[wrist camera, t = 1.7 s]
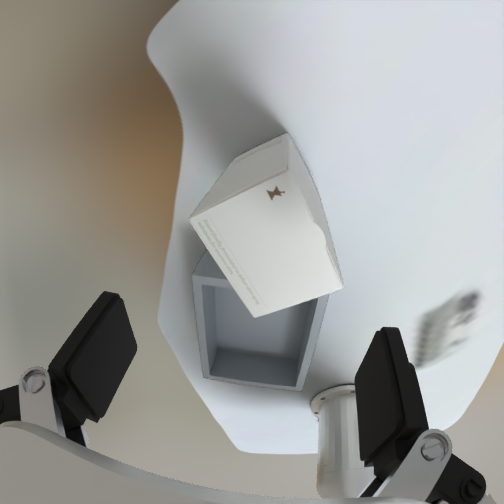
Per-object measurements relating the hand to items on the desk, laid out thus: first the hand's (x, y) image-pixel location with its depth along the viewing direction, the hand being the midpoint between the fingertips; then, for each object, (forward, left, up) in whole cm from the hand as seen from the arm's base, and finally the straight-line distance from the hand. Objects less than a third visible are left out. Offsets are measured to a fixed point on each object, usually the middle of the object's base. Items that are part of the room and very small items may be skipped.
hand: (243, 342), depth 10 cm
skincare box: (0, 0, -23) cm, 23 cm away
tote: (-18, +1, -22) cm, 29 cm away
